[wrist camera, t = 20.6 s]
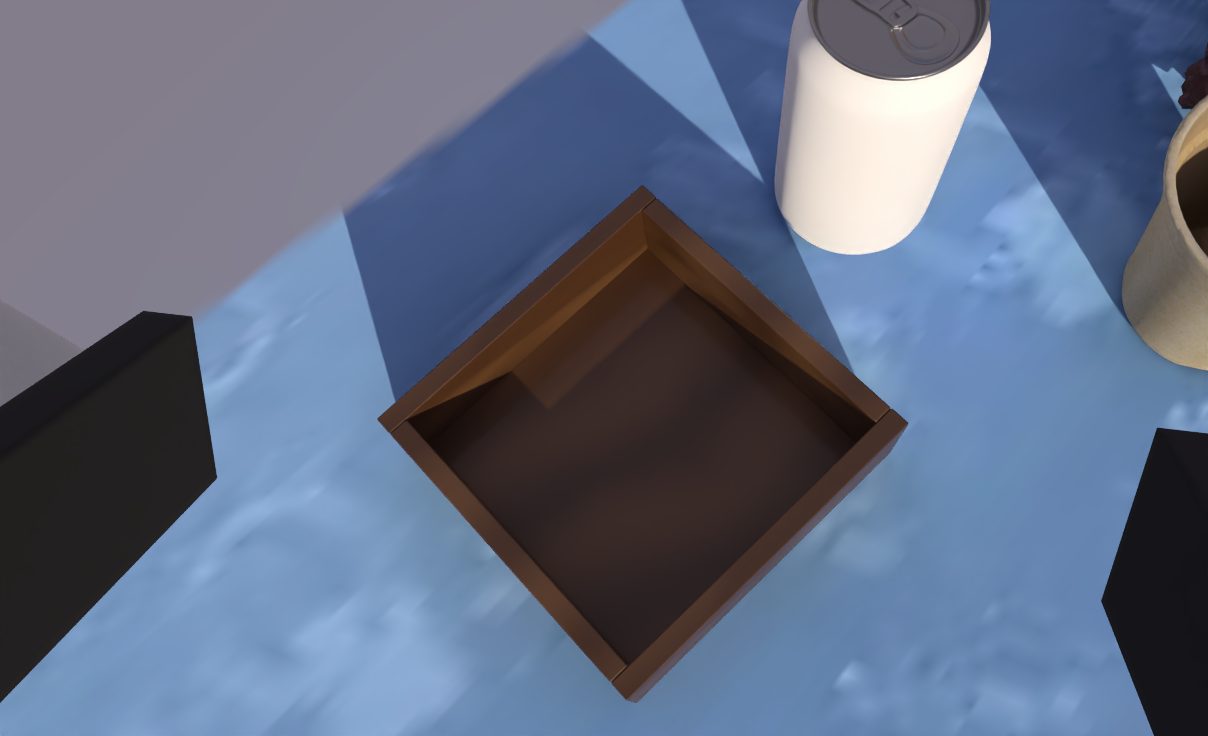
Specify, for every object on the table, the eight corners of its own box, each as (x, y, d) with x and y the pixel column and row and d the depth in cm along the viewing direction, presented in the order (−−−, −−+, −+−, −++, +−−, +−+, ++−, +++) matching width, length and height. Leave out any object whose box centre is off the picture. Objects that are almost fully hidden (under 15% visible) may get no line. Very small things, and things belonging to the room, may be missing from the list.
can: (844, 289, 42) (891, 128, 31) (741, 182, 44) (751, -4, 33) (961, 197, 43) (1050, 8, 32) (856, 97, 45) (904, -113, 34)
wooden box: (406, 446, 42) (376, 418, 38) (648, 230, 44) (642, 183, 40) (635, 703, 38) (627, 701, 34) (890, 451, 40) (909, 423, 36)
